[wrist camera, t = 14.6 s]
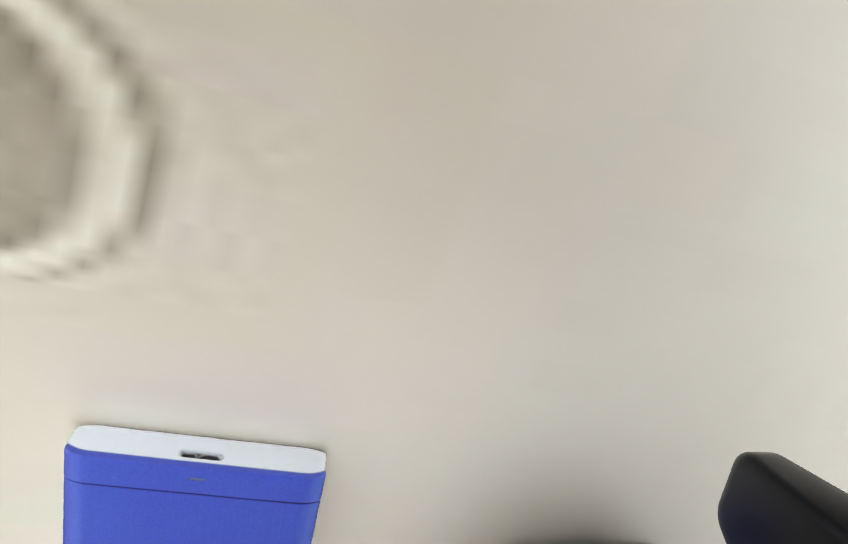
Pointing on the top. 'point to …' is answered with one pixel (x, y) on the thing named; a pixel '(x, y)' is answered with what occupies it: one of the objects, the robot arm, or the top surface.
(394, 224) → the top surface
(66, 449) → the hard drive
